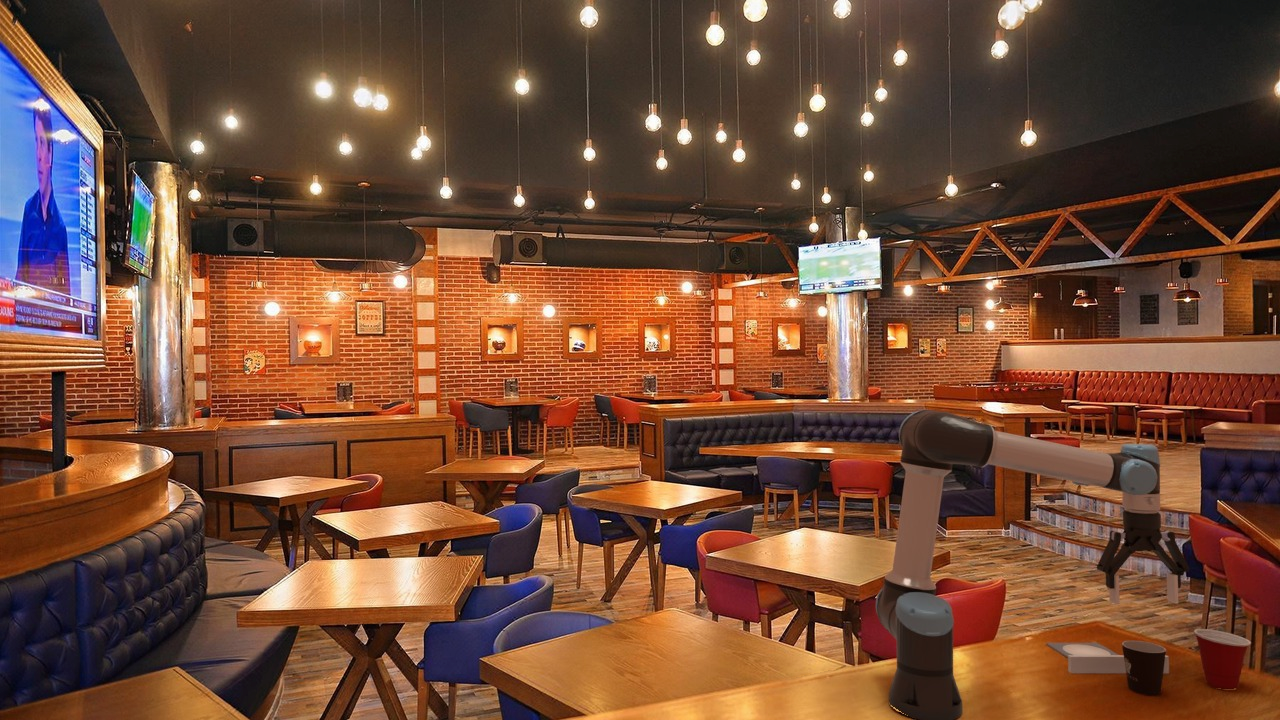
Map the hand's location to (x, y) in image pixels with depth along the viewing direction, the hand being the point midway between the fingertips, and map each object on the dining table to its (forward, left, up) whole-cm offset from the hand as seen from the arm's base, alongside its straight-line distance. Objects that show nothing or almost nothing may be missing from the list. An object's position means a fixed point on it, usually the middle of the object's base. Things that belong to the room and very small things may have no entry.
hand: (1143, 602), depth 186 cm
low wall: (0, +10, -20) cm, 22 cm away
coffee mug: (0, 0, -20) cm, 20 cm away
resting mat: (0, +24, -20) cm, 31 cm away
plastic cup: (+19, +1, -20) cm, 28 cm away
